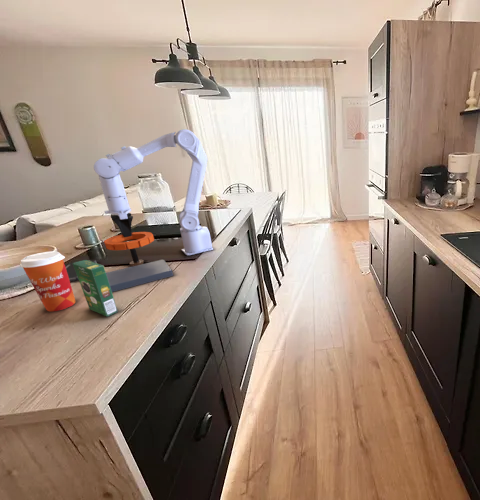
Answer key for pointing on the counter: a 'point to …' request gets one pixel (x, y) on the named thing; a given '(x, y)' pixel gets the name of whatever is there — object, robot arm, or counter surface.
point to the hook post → (135, 258)
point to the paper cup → (49, 279)
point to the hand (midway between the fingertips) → (127, 235)
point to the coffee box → (95, 287)
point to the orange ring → (118, 243)
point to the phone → (73, 271)
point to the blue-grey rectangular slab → (138, 275)
